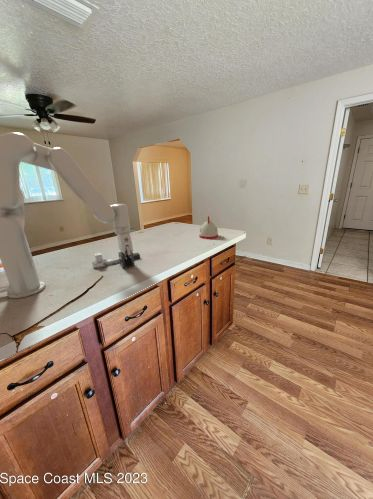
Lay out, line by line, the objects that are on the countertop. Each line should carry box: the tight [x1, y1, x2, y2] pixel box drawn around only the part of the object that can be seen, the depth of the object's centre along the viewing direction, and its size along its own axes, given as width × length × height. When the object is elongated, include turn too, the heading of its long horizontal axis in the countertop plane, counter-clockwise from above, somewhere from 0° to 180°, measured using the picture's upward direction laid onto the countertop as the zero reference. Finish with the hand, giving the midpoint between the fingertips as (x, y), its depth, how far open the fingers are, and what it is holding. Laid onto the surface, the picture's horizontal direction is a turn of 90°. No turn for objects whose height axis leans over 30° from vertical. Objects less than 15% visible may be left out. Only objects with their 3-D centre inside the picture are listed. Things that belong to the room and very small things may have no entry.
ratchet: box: [91, 252, 141, 270], centre depth 110 cm, size 24×7×6 cm, turn 121°
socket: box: [117, 251, 136, 270], centre depth 105 cm, size 6×6×7 cm
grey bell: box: [199, 215, 219, 240], centre depth 152 cm, size 14×14×15 cm
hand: (127, 263), depth 106 cm, fingers closed on socket, 6 cm apart
